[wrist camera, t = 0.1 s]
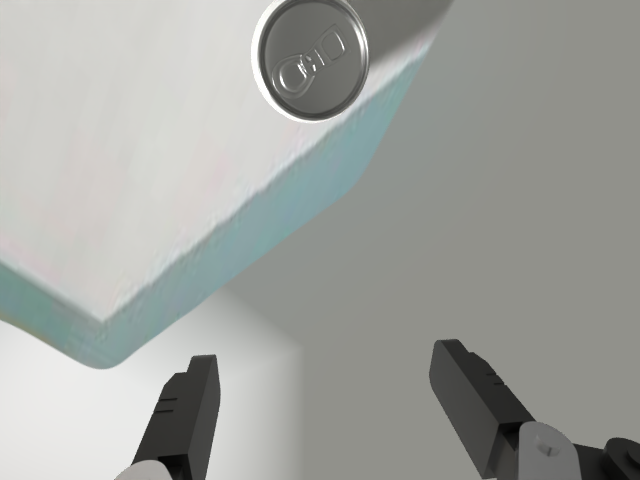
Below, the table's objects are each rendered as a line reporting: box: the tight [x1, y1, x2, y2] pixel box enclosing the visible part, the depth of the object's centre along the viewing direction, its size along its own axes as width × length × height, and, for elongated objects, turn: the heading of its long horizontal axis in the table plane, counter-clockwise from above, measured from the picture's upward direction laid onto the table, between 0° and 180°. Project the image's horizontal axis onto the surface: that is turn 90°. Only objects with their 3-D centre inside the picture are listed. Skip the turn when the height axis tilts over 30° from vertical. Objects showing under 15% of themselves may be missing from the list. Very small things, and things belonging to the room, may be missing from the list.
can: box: [251, 0, 370, 123], centre depth 21 cm, size 6×6×12 cm
